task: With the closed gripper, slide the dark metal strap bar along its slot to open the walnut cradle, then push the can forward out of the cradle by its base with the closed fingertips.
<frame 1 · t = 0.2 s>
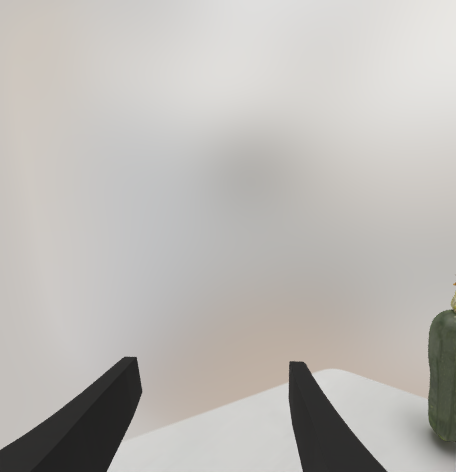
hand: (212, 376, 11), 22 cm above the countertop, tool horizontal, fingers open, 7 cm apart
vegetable: (438, 441, 28), on the countertop
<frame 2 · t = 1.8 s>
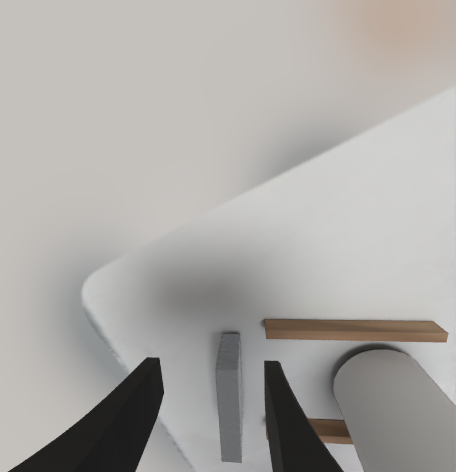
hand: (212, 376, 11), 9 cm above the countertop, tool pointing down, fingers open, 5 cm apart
strap bar: (231, 395, 20), point 2 cm above the countertop, slide at 0.0 cm
cradle: (373, 378, 21), on the countertop
can: (372, 376, 21), on the countertop
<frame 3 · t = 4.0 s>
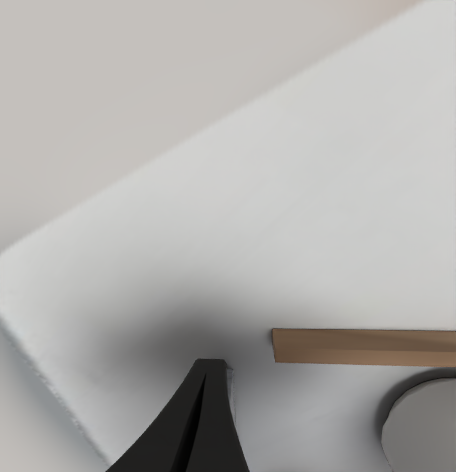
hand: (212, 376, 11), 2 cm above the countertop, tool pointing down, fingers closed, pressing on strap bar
strap bar: (218, 468, 13), point 2 cm above the countertop, slide at 1.1 cm, touching gripper
cradle: (443, 421, 13), on the countertop
can: (440, 416, 14), on the countertop
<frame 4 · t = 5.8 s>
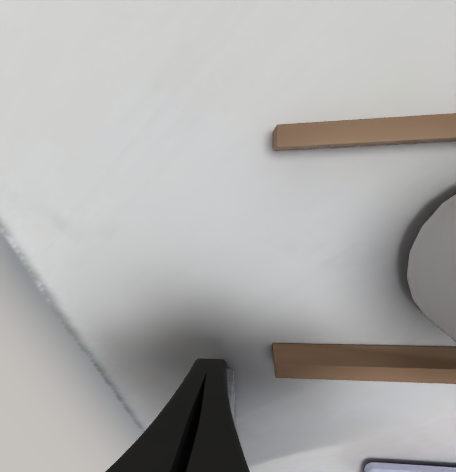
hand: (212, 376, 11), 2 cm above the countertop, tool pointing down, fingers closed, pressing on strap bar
strap bar: (219, 468, 13), point 2 cm above the countertop, slide at 11.0 cm, touching gripper
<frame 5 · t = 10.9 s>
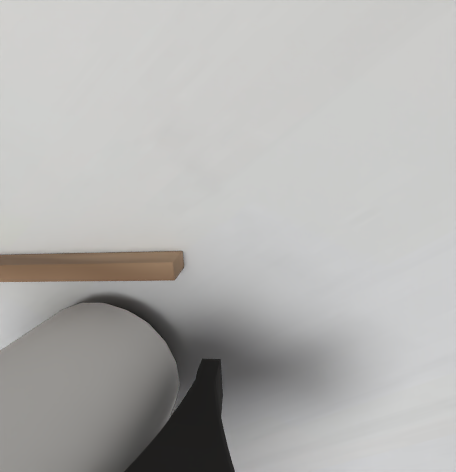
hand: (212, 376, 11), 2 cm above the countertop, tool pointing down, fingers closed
cradle: (120, 353, 13), on the countertop
can: (120, 354, 13), on the countertop, touching gripper
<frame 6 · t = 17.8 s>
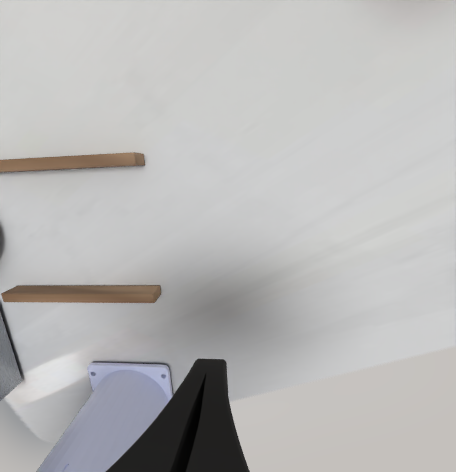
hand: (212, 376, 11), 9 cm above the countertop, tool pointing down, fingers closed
cradle: (106, 230, 20), on the countertop
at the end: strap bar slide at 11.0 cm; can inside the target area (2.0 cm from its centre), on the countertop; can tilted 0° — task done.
